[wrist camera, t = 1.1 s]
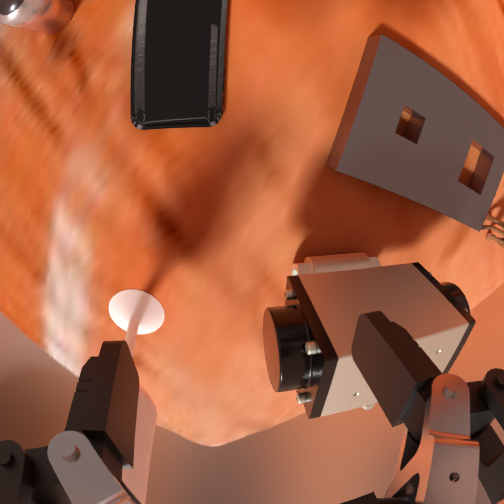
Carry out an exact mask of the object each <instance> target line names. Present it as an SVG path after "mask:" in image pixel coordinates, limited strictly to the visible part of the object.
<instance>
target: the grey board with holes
mask: <svg viewBox="0 0 504 504" xmlns="http://www.w3.org/2000/svg"><path fill="white" fill-rule="evenodd" d="M403 110H404V111H406V112H407V113H409V114H411V118H410V121H409V124H408V127H407V130H406V133H405V135H404V137H402V136H400V135H398V134H396V133H395V131H396V129H397V126H398V123H399V120H400V117H401V114H402V111H403ZM471 144H472V145H473V146H474V147H475V148H477V149H478V150H479V151H480V152H481V154H480V157H479V159H478V162H477V165H476V168H475V171H474V174H473V176H472V179H471V182H470V184H469V187H467V186H465V185H464V184H462V183H460V182H459V181H458V179H459V176H460V173H461V171H462V168H463V165H464V163H465V160H466V157H467V154H468V151H469V148H470V145H471ZM326 165H327V166H329V167H331V168H332V169H334V170H335V171H338V172H341V173H343V174H346V175H349V176H352V177H355V178H357V179H360V180H363V181H365V182H368V183H371V184H373V185H376V186H378V187H381V188H384V189H386V190H389V191H391V192H394V193H396V194H398V195H401V196H403V197H406V198H408V199H410V200H413V201H415V202H418V203H420V204H422V205H424V206H427V207H429V208H431V209H433V210H436V211H438V212H440V213H442V214H444V215H446V216H449V217H451V218H453V219H455V220H457V221H459V222H461V223H463V224H465V225H467V226H469V227H471V228H473V229H475V230H477V231H479V232H480V230H481V227H482V225H483V223H484V221H485V218H486V216H487V214H488V211H489V209H490V207H491V204H492V202H493V199H494V197H495V194H496V191H497V189H498V186H499V183H500V181H501V178H502V175H503V172H504V128H503V127H502V126H501V125H500V124H499V123H498V122H497V121H496V120H495V119H494V118H493V117H492V116H491V115H490V114H489V113H488V112H487V111H486V110H484V109H483V108H482V107H481V106H480V105H479V104H478V103H477V102H476V101H475V100H473V99H472V98H471V97H470V96H469V95H468V94H466V93H465V92H464V91H463V90H462V89H460V88H459V87H458V86H457V85H456V84H454V83H453V82H452V81H451V80H449V79H448V78H447V77H445V76H444V75H443V74H441V73H440V72H439V71H437V70H436V69H435V68H433V67H432V66H431V65H429V64H428V63H426V62H425V61H424V60H422V59H421V58H419V57H418V56H416V55H415V54H413V53H412V52H410V51H409V50H407V49H406V48H404V47H402V46H401V45H399V44H398V43H396V42H394V41H393V40H391V39H389V38H388V37H386V36H384V35H382V34H380V35H376V36H372V37H368V40H367V44H366V47H365V50H364V53H363V56H362V60H361V63H360V66H359V69H358V72H357V75H356V78H355V81H354V84H353V87H352V91H351V94H350V97H349V100H348V103H347V106H346V108H345V111H344V114H343V117H342V120H341V123H340V126H339V129H338V132H337V135H336V138H335V140H334V143H333V146H332V149H331V152H330V155H329V157H328V160H327V163H326Z"/></svg>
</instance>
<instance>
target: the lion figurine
mask: <svg viewBox="0 0 504 504" xmlns="http://www.w3.org/2000/svg"><path fill="white" fill-rule="evenodd" d="M486 219H487V220H490V221H492V222H493V223H495V224H498V225H500V226H501V227H502V228H503V230H504V222H502V221H500V220H498V219H497V218H495V217H493V216H492V215H491V213H488V214H487V216H486ZM481 229H482V230H484V229H491V230H494V231H496V232H498V233H500V234H501V235H503V236H504V231H502V230H500V229H498V228H496V227H494V226H489V225H482V227H481ZM486 239H487V240H488V241H489V240H491V239H492V240H494V241H496V242H497V243H498V244H499V245H500V246H502V247H503V248H504V238H500V237H496V236H495V235H494V234H491V233H488V234H487V236H486Z"/></svg>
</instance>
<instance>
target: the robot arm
mask: <svg viewBox="0 0 504 504" xmlns="http://www.w3.org/2000/svg"><path fill="white" fill-rule="evenodd" d="M351 352H352V357H353V360H354V362H355V364H356V366H357V367H358V369H359V371H360V372H361V374H362V376H363V377H364V379H365V381H366V382H367V384H368V386H369V388H370V389H371V391H372V393H373V394H374V396H375V398H376V399H377V401H378V403H379V405H380V406H381V408H382V410H383V411H384V413H385V415H386V417H387V418H388V420H389V422H390V423H391V425H392V427H394V426H397V425H399V424H402V423H404V424H405V425H406V429H405V431H404V434H403V439H402V444H401V449H400V453H399V457H398V462H397V466H396V470H395V473H394V476H393V479H392V481H391V482H390V484H389V486H388V488H387V490H386V493H385V495H384V498H376V496H375V494H374V492H372V493H370V494H367V495H364V496H362V497H358V498H356V499H353V500H350V501H347V502H344V503H341V504H475V501H476V492H477V483H478V478H479V480H480V481H481V483H482V485H483V487H484V489H485V491H486V493H487V495H488V497H489V499H490V501H491V503H492V504H504V445H503V444H502V442H501V440H500V439H499V438H498V436H497V434H496V433H495V431H494V430H493V428H492V427H491V425H490V424H491V423H492V421H493V420H494V419H495V418H496V419H497V421H498V422H499V424H500V425H501V427H502V428H503V430H504V370H502V369H498V368H497V369H496V368H495V369H491V370H489V371H488V372H487V374H486V376H485V377H484V379H483V381H476V382H467V383H466V382H465V381H464V380H463V379H462V378H460V377H459V376H457V375H454V374H448V373H447V374H443V373H442V372H441V371H440V370H439V369H438V367H437V366H436V365H435V364H434V362H433V361H432V360H431V359H430V358H429V356H428V355H427V354H426V353H425V351H424V350H423V349H422V348H421V347H419V344H418V343H417V342H416V341H415V340H413V337H412V336H411V335H410V334H409V333H408V331H407V330H406V329H405V328H403V327H402V326H400V325H399V324H397V323H395V322H394V321H393V322H390V320H389V319H388V318H387V317H386V316H385V315H384V313H383V312H381V311H374V312H369V313H364V314H361V315H360V316H359V317H358V321H357V325H356V330H355V334H354V338H353V342H352V347H351ZM138 397H139V377H138V373H137V370H136V367H135V364H134V361H133V358H132V356H131V353H130V350H129V347H128V344H127V342H126V341H104V342H103V344H102V347H101V350H100V353H99V357H90V359H89V360H88V361H87V362H86V364H85V365H84V366H83V367H82V370H81V373H80V377H79V382H78V383H77V387H76V392H75V394H74V398H73V401H72V405H71V409H70V412H69V417H68V420H67V424H66V428H65V431H64V432H62V433H59V434H58V435H56V436H55V437H54V438H53V439H52V440H51V442H50V443H49V446H46V447H40V448H34V449H27V450H24V449H23V448H22V447H21V446H20V445H19V444H18V443H16V442H14V441H11V440H5V441H1V442H0V504H141V502H140V501H139V500H138V499H137V498H136V497H135V495H134V494H133V493H132V492H131V490H130V489H129V488H128V487H127V485H126V484H125V483H124V482H123V480H122V469H133V462H134V444H135V430H136V418H137V407H138Z"/></svg>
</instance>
